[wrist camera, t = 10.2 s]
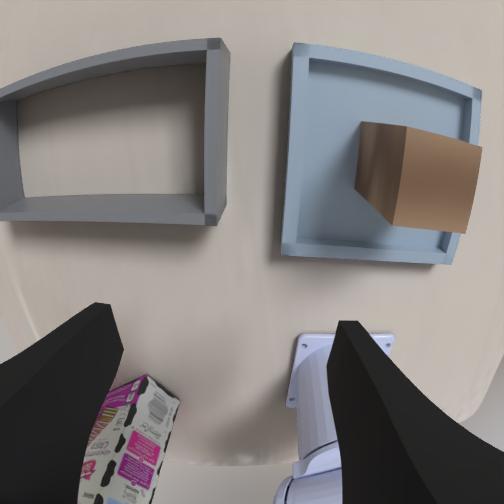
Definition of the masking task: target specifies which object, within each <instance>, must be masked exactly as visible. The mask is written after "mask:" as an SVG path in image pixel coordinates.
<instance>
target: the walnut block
mask: <svg viewBox="0 0 504 504" xmlns="http://www.w3.org/2000/svg"><path fill="white" fill-rule="evenodd" d="M481 153H482V147H480V146H477V145H474V144H471V143H467V142H464V141H461V140H458V139H454V138H451V137H447V136H444V135H440V134H436V133H432V132H428V131H424V130H420V129H416V128H412V127H407V126H400V125H393V124H384V123H375V122H365V121H361V130H360V142H359V152H358V162H357V170H356V179H355V187H354V189H355V190H356V191H357V192H358V193H359V194H360V195H361V196H362V197H363V198H364V199H365V200H367V201H368V202H369V203H370V204H371V205H372V206H373V207H374V208H375V209H376V210H377V211H378V212H379V213H380V214H381V215H382V216H383V217H384V218H385V219H386V220H387V221H388V222H389V223H390V224H391V225H392V226H398V227H408V228H418V229H428V230H437V231H446V232H454V233H463V234H465V233H466V229H467V225H468V221H469V217H470V213H471V209H472V204H473V200H474V195H475V190H476V185H477V179H478V173H479V167H480V161H481Z"/></svg>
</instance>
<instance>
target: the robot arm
mask: <svg viewBox="0 0 504 504" xmlns="http://www.w3.org/2000/svg"><path fill="white" fill-rule="evenodd" d="M394 341H395V337H394V335H393V334H369V333H368V332H367V331H366V330H365V328H364V327H363V326H362V325H361V324H360V323H359V322H358V321H339V323H338V326H337V330H336V334H302V335H300V336H299V337H298V342H297V347H296V353H295V358H294V363H293V368H292V373H291V378H290V383H289V388H288V393H287V398H286V407H288V408H296V413H297V434H298V455H299V460H300V461H298V462H294V463H293V476H289V477H287V478H286V479H284V480H283V481H282V483H281V484H280V486H279V488H278V490H277V492H276V494H275V497H274V500H273V504H504V452H502V451H501V450H499V449H497V448H495V447H493V446H492V445H490V444H488V443H486V442H485V441H483V440H481V439H479V438H478V437H477V436H475V435H474V434H472V433H471V432H469V431H468V430H466V429H465V428H464V427H462V426H461V425H459V424H458V423H457V422H455V421H454V420H453V419H451V418H450V417H449V416H448V415H446V414H445V413H444V412H443V411H442V410H441V409H439V408H438V407H437V406H436V405H435V404H434V403H433V402H431V401H430V400H429V399H428V398H427V397H426V396H425V395H424V394H423V393H422V392H421V391H420V390H419V389H418V388H417V387H416V386H415V385H414V384H413V383H412V382H411V381H410V380H409V379H408V378H407V377H406V376H405V375H404V374H403V373H402V372H401V371H400V369H399V368H398V367H397V366H396V365H395V364H394V363H393V362H392V360H391V359H390V358H389V357H388V355H389V353H390V350H391V348H392V346H393V343H394ZM387 343H388V344H387ZM302 344H306V345H302ZM123 350H124V348H123V345H122V342H121V339H120V336H119V333H118V329H117V326H116V323H115V319H114V316H113V312H112V309H111V305H110V304H104V303H97V302H95V303H93V304H91V305H90V306H88V307H87V308H85V309H84V310H82V311H81V312H79V313H78V314H76V315H75V316H73V317H72V318H70V319H69V320H68V321H66V322H65V323H63V324H62V325H60V326H59V327H58V328H56V329H55V330H53V331H52V332H51V333H49V334H48V335H46V336H45V337H43V338H42V339H40V340H39V341H37V342H36V343H34V344H33V345H31V346H30V347H28V348H27V349H25V350H24V351H22V352H21V353H19V354H17V355H16V356H14V357H12V358H11V359H9V360H7V361H5V362H3V363H2V364H0V504H77V503H78V492H79V484H80V477H81V471H82V466H83V461H84V457H85V453H86V449H87V445H88V441H89V437H90V434H91V431H92V429H93V426H94V423H95V421H96V419H97V416H98V414H99V412H100V410H101V407H102V405H103V403H104V401H105V398H106V396H107V394H108V392H109V389H110V387H111V385H112V383H113V381H114V378H115V376H116V373H117V370H118V367H119V364H120V361H121V357H122V354H123Z"/></svg>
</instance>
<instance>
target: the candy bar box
mask: <svg viewBox="0 0 504 504" xmlns="http://www.w3.org/2000/svg"><path fill="white" fill-rule="evenodd" d="M179 404H180V400H179V399H178V398H177V397H175V396H174V395H173V394H172V393H170V392H169V391H167V390H166V389H165V388H164V387H163V386H162V385H160V384H159V383H158V382H157V381H156V380H154V379H153V378H151V377H150V376H149V375H144V376H142V377H140V378H138V379H136V380H134V381H131V382H129V383H127V384H125V385H123V386H121V387H118V388H116V389H114V390H112V391H109V392H108V394H107V396H106V398H105V401H104V403H103V405H102V407H101V410H100V412H99V414H98V416H97V419H96V421H95V423H94V426H93V429H92V431H91V434H90V437H89V441H88V445H87V449H86V453H85V457H84V461H83V466H82V471H81V477H80V484H79V492H78V503H77V504H151V503H152V499H153V496H154V491H155V488H156V484H157V481H158V477H159V473H160V469H161V466H162V463H163V459H164V456H165V452H166V448H167V445H168V441H169V438H170V434H171V431H172V428H173V424H174V420H175V417H176V414H177V410H178V407H179Z"/></svg>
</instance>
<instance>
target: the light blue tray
mask: <svg viewBox="0 0 504 504" xmlns="http://www.w3.org/2000/svg"><path fill="white" fill-rule="evenodd" d="M481 99H482V90H480V89H478V88H475V87H473V86H471V85H468V84H466V83H463V82H461V81H458V80H456V79H453V78H451V77H448V76H445V75H442V74H440V73H437V72H434V71H431V70H428V69H425V68H421V67H418V66H415V65H412V64H408V63H405V62H401V61H397V60H393V59H390V58H385V57H381V56H377V55H373V54H368V53H363V52H358V51H353V50H347V49H341V48H335V47H328V46H321V45H313V44H304V43H294V44H293V47H292V57H291V82H290V104H289V123H288V141H287V157H286V173H285V188H284V202H283V215H282V228H281V240H280V250H281V255H285V256H303V257H320V258H338V259H356V260H374V261H392V262H411V263H429V264H447V265H452V262H453V258H454V255H455V252H456V249H457V245H458V242H459V238H460V234H461V233H454V232H446V231H437V230H428V229H418V228H408V227H398V226H392V225H391V224H390V223H389V222H388V221H387V220H386V219H385V218H384V217H383V216H382V215H381V214H380V213H379V212H378V211H377V210H376V209H375V208H374V207H373V206H372V205H371V204H370V203H369V202H368V201H367V200H365V199H364V198H363V197H362V196H361V195H360V194H359V193H358V192H357V191H356V190H355V189H354V187H355V179H356V170H357V162H358V152H359V142H360V130H361V121H365V122H375V123H384V124H393V125H400V126H407V127H412V128H416V129H420V130H424V131H428V132H432V133H436V134H440V135H444V136H447V137H451V138H454V139H458V140H461V141H464V142H467V143H471V144H474V145H477V146H478V140H479V130H480V118H481Z"/></svg>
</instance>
